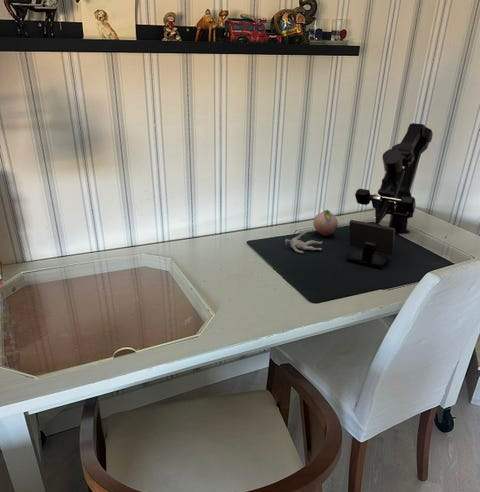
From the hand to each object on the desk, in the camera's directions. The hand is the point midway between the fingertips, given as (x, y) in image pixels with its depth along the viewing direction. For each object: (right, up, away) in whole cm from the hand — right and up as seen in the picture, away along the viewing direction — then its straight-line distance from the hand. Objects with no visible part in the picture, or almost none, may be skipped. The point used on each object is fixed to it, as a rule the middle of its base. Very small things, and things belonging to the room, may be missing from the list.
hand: (376, 223), depth 156 cm
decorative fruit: (-13, -2, +22) cm, 26 cm away
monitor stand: (-2, -12, +2) cm, 12 cm away
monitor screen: (-1, -8, +2) cm, 9 cm away
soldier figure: (-22, -8, +10) cm, 25 cm away
